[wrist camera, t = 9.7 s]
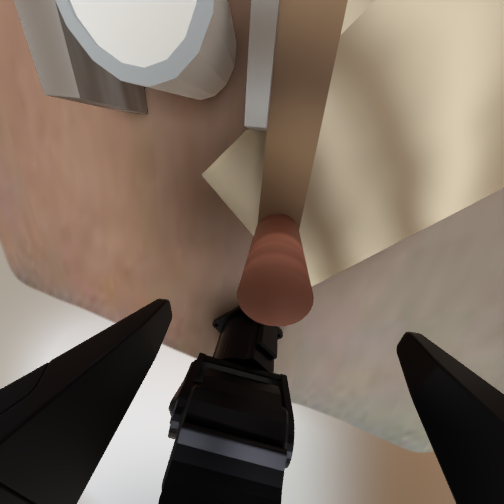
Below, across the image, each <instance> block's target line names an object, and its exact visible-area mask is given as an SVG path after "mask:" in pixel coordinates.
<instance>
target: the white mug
mask: <svg viewBox="0 0 504 504" xmlns="http://www.w3.org/2000/svg"><path fill="white" fill-rule="evenodd" d="M55 1H56V3H57V6H58V8H59V10H60V12H61V15H62V17H63V19H64V21H65V24H66V26H67V27H68V29H69V30H70V31H71V33H72V34H73V35H74V36H75V38H76V39H77V40H78V42H79V43H80V44H81V46H82V47H83V48H84V50H85V51H86V52H87V54H88V55H89V56H90V57H91V59H92V60H93V61H94V62H96V63H97V64H98V65H100V66H101V67H103V68H104V69H105V70H107V71H108V72H110V73H111V74H112V75H114V76H115V77H117V78H118V79H119V80H121V81H124V82H128V83H132V84H136V85H140V86H144V87H148V88H152V89H156V90H160V91H164V92H168V93H172V94H176V95H180V96H184V97H188V98H193V99H198V100H203V99H207V98H210V97H213V96H215V95H216V94H218V93H219V92H220V91H221V90H222V89H223V88H224V87H225V86H226V85H227V83H228V81H229V78H230V76H231V74H232V72H233V69H234V67H235V58H236V49H237V43H236V38H235V32H234V26H233V21H232V17H231V12H230V7H229V3H228V0H55Z"/></svg>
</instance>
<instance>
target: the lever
mask: <svg viewBox="0 0 504 504" xmlns="http://www.w3.org/2000/svg"><path fill="white" fill-rule="evenodd" d="M347 2H348V0H251V12H250V30H249V48H248V66H247V84H246V102H245V120H244V126H245V127H247V128H249V129H251V130H258V131H267V137H266V147H265V156H264V166H263V176H262V185H261V195H260V205H259V214H258V224H257V227H256V230H255V234H254V237H253V241H252V244H251V247H250V251H249V254H248V257H247V261H246V264H245V267H244V271H243V274H242V278H241V281H240V284H239V288H238V292H237V299H238V303H239V305H240V307H241V309H242V310H243V312H244V313H245V314H246V315H247V316H248V317H250V318H251V319H252V320H254V321H256V322H258V323H261V324H264V325H268V326H287V325H291V324H294V323H296V322H298V321H300V320H301V319H303V318H304V317H305V316H306V315H307V314H308V313H309V311H310V310H311V307H312V305H313V292H312V287H311V283H310V278H309V274H308V269H307V264H306V260H305V255H304V251H303V246H302V242H301V237H300V232H299V229H300V224H301V219H302V214H303V210H304V205H305V200H306V195H307V191H308V186H309V181H310V177H311V172H312V167H313V162H314V158H315V153H316V148H317V144H318V139H319V134H320V129H321V125H322V120H323V115H324V111H325V106H326V101H327V96H328V92H329V87H330V82H331V77H332V73H333V68H334V63H335V59H336V54H337V49H338V44H339V40H340V35H341V30H342V26H343V21H344V16H345V11H346V7H347Z"/></svg>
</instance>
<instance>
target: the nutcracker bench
mask: <svg viewBox="0 0 504 504" xmlns="http://www.w3.org/2000/svg"><path fill="white" fill-rule="evenodd" d="M14 2H15V5H16V8H17V11H18V14H19V18H20V21H21V24H22V27H23V30H24V33H25V36H26V39H27V42H28V45H29V48H30V51H31V55H32V58H33V61H34V64H35V67H36V70H37V73H38V76H39V79H40V82H41V85H42V89H43V92H44V95H48V96H52V97H57V98H62V99H66V100H71V101H76V102H80V103H85V104H89V105H94V106H99V107H103V108H108V109H113V110H117V111H122V112H130V113H140V114H148V112H147V104H146V97H145V89H144V86H140V85H136V84H132V83H128V82H124V81H121V80H119V79H118V78H117V77H115V76H114V75H112V74H111V73H110V72H108V71H107V70H105V69H104V68H103V67H101V66H100V65H98V64H97V63H96V62H94V61H93V60H92V59H91V57H90V56H89V55H88V54H87V52H86V51H85V50H84V48H83V47H82V46H81V44H80V43H79V42H78V40H77V39H76V38H75V36H74V35H73V34H72V33H71V31H70V30H69V29H68V27H67V26H66V24H65V21H64V19H63V17H62V15H61V12H60V10H59V8H58V6H57V3H56V1H55V0H14ZM266 137H267V131H258V130H251V129H249V128H248V129H247V130H246V131H245V132H244V133H243V134H242V135H241V136H240V137H239V138H238V139H237V140H236V141H235V142H234V143H233V144H232V145H231V146H230V147H229V148H228V149H227V150H226V151H225V152H224V153H223V154H222V155H221V156H220V157H219V158H218V159H217V160H216V161H215V162H214V163H213V164H212V165H211V166H210V167H209V168H208V169H207V170H206V171H205V172H204V173H203V174H202V176H203V177H204V179H205V180H206V181H207V182H208V183H209V184H210V186H211V187H212V188H213V189H214V190H215V191H216V193H217V194H218V195H219V196H220V197H221V199H222V200H223V201H224V202H225V203H226V204H227V206H228V207H229V208H230V209H231V210H232V211H233V213H234V214H235V215H236V216H237V217H238V218H239V220H240V221H241V222H242V223H243V224H244V225H245V227H246V228H247V229H248V230H249V231H250V232H251V234H252V235H253V236H254V234H255V230H256V227H257V224H258V214H259V205H260V195H261V185H262V176H263V166H264V156H265V147H266ZM502 188H504V0H348V2H347V7H346V11H345V16H344V21H343V26H342V30H341V35H340V40H339V44H338V49H337V54H336V59H335V63H334V68H333V73H332V77H331V82H330V87H329V92H328V96H327V101H326V106H325V111H324V115H323V120H322V125H321V129H320V134H319V139H318V144H317V148H316V153H315V158H314V162H313V167H312V172H311V177H310V181H309V186H308V191H307V195H306V200H305V205H304V210H303V214H302V219H301V224H300V229H299V232H300V237H301V242H302V246H303V251H304V255H305V260H306V264H307V269H308V274H309V278H310V283H311V287H312V286H314V285H316V284H318V283H320V282H322V281H324V280H326V279H328V278H330V277H332V276H334V275H335V274H337V273H339V272H341V271H343V270H345V269H347V268H349V267H351V266H353V265H355V264H357V263H359V262H361V261H363V260H365V259H367V258H368V257H370V256H372V255H374V254H376V253H378V252H380V251H382V250H384V249H386V248H388V247H390V246H392V245H394V244H396V243H398V242H400V241H401V240H403V239H405V238H407V237H409V236H411V235H413V234H415V233H417V232H419V231H421V230H423V229H425V228H427V227H429V226H431V225H432V224H434V223H436V222H438V221H440V220H442V219H444V218H446V217H448V216H450V215H452V214H454V213H456V212H458V211H460V210H462V209H464V208H465V207H467V206H469V205H471V204H473V203H475V202H477V201H479V200H481V199H483V198H485V197H487V196H489V195H491V194H493V193H495V192H497V191H498V190H500V189H502Z"/></svg>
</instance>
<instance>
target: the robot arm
mask: <svg viewBox="0 0 504 504" xmlns="http://www.w3.org/2000/svg"><path fill="white" fill-rule="evenodd" d="M171 320H172V311H171V306H170V301H169V300H166V299H157V300H155V301H153V302H152V303H150V304H148V305H147V306H145V307H143V308H141V309H140V310H138V311H136V312H134V313H133V314H131V315H129V316H128V317H126V318H124V319H122V320H121V321H119V322H117V323H115V324H114V325H112V326H110V327H108V328H107V329H105V330H103V331H102V332H100V333H98V334H96V335H95V336H93V337H91V338H89V339H88V340H86V341H84V342H83V343H81V344H79V345H77V346H76V347H74V348H72V349H70V350H69V351H67V352H65V353H63V354H62V355H60V356H58V357H56V358H55V359H53V360H52V361H50V363H46V364H44V365H43V366H41V367H39V368H37V369H36V370H34V371H32V372H31V373H29V374H27V375H25V376H23V377H21V378H20V379H18V380H16V381H14V382H13V383H11V384H9V385H7V386H5V387H4V388H2V389H0V504H77V502H78V500H79V498H80V496H81V495H82V493H83V491H84V489H85V487H86V485H87V484H88V482H89V480H90V478H91V476H92V474H93V472H94V471H95V469H96V467H97V465H98V463H99V461H100V459H101V458H102V456H103V454H104V452H105V450H106V448H107V446H108V445H109V443H110V441H111V439H112V437H113V436H114V434H115V432H116V430H117V428H118V426H119V424H120V422H121V421H122V419H123V417H124V415H125V413H126V411H127V409H128V408H129V406H130V404H131V402H132V400H133V399H134V397H135V395H136V393H137V391H138V389H139V387H140V385H141V384H142V382H143V380H144V378H145V376H146V375H147V372H148V370H149V369H150V367H151V365H152V363H153V361H154V360H155V357H156V355H157V353H158V351H159V349H160V346H161V344H162V341H163V339H164V337H165V334H166V332H167V329H168V327H169V325H170V322H171ZM212 325H213V327H215V328H216V329H217V330H218V331H219V332H220V336H219V339H218V342H217V345H216V348H215V352H214V355H213V357H211V356H207V355H205V354H203V353H200V354H199V356H198V358H197V360H195V361H194V362H192V363H191V365H190V368H189V370H188V372H187V375H186V377H185V379H184V381H183V383H182V384H181V386H180V387H179V389H178V391H177V392H176V394H175V396H174V397H173V399H172V401H171V403H170V406H169V411H170V414H171V421H170V424H171V425H170V429H169V434H168V437H169V438H172V439H175V442H174V446H173V449H172V452H171V456H170V459H169V462H168V466H167V469H166V472H165V475H164V479H163V483H162V492H161V495H160V498H159V504H281V495H282V484H283V476H284V469H285V468H287V467H288V466H289V464H290V461H291V457H292V452H293V445H294V417H293V411H292V405H291V399H290V393H289V387H288V381H287V376H286V375H284V374H280V375H279V374H276V373H274V359H276V358H277V340H278V339H280V338H282V337H283V332H282V331H281V330H280V329H279V328H278V327H277V326H268V325H264V324H261V323H258V322H256V321H254V320H252V319H251V318H250V317H248V316H247V315H246V314H245V313H244V312H243V310H242V309H241V307H240V306H239V307H237V308H235V309H234V310H232V311H230V312H228V313H227V314H225V315H223V316H221V317H219V318H218V319H216V320H214V322H213V324H212ZM397 355H398V358H399V361H400V364H401V367H402V370H403V373H404V376H405V380H406V383H407V386H408V389H409V392H410V395H411V398H412V400H413V403H414V405H415V408H416V410H417V412H418V415H419V417H420V419H421V422H422V424H423V426H424V429H425V431H426V434H427V436H428V438H429V441H430V443H431V445H432V448H433V450H434V452H435V455H436V457H437V459H438V462H439V464H440V466H441V469H442V471H443V474H444V476H445V478H446V481H447V483H448V485H449V488H450V490H451V492H452V495H453V497H454V500H455V502H456V504H504V394H503V393H501V392H500V391H498V390H497V389H496V388H494V387H493V386H492V385H490V384H489V383H487V382H486V381H485V380H483V379H482V378H481V377H479V376H478V375H476V374H475V373H474V372H472V371H471V370H470V369H468V368H467V367H466V366H464V365H463V364H461V363H460V362H459V361H457V360H456V359H455V358H453V357H452V356H450V355H449V354H448V353H446V352H445V351H444V350H442V349H441V348H439V347H438V346H437V345H435V344H434V343H433V342H431V341H430V340H429V339H427V338H426V337H424V336H423V335H422V334H419V333H414V332H406V333H405V334H404V335H403V337H402V338H401V340H400V342H399V343H398V345H397Z"/></svg>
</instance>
